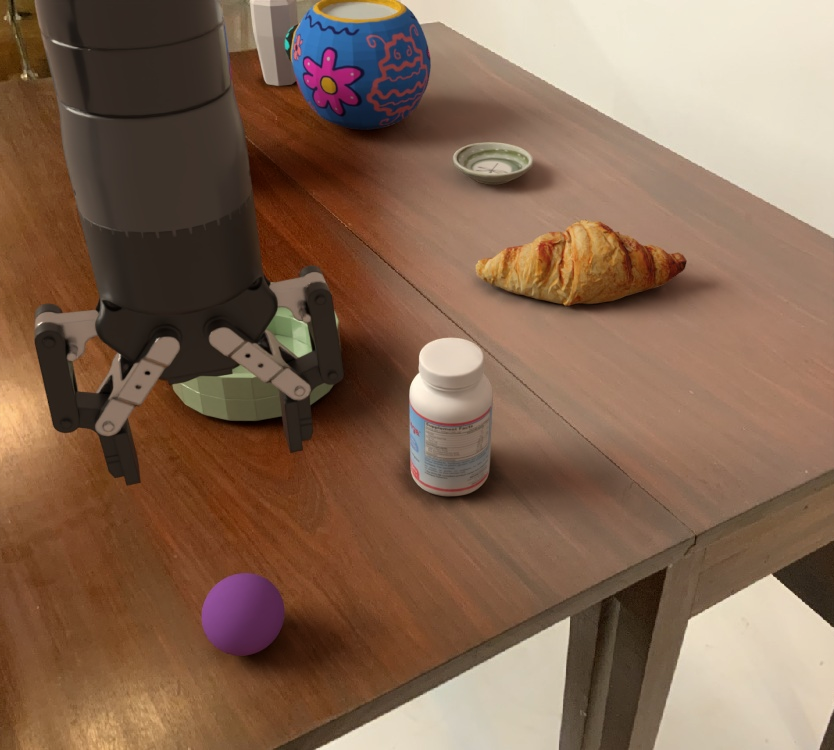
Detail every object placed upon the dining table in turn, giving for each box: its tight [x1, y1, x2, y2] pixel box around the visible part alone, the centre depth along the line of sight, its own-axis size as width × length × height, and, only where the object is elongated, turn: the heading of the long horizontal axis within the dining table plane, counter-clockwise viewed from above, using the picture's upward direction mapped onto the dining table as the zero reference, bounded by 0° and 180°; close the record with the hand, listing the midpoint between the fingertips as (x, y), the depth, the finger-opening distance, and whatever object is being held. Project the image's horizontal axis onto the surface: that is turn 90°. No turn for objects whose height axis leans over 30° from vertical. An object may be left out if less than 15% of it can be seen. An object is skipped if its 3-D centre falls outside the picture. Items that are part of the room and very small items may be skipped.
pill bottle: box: [408, 337, 494, 497], centre depth 72 cm, size 6×6×11 cm
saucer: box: [452, 141, 534, 185], centre depth 117 cm, size 10×10×2 cm
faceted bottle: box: [249, 0, 299, 87], centre depth 134 cm, size 6×6×22 cm
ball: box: [201, 572, 286, 657], centre depth 60 cm, size 5×5×5 cm
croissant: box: [474, 219, 687, 307], centre depth 97 cm, size 21×10×8 cm, turn 96°
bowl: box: [172, 281, 342, 422], centre depth 83 cm, size 14×14×5 cm
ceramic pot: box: [285, 0, 432, 131], centre depth 125 cm, size 18×18×15 cm
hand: (215, 458), depth 53 cm, fingers open, 8 cm apart
